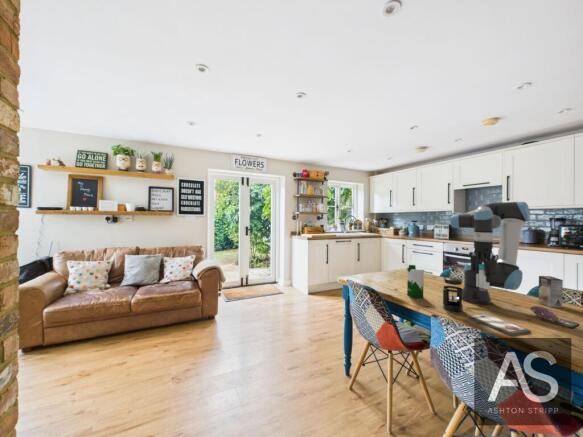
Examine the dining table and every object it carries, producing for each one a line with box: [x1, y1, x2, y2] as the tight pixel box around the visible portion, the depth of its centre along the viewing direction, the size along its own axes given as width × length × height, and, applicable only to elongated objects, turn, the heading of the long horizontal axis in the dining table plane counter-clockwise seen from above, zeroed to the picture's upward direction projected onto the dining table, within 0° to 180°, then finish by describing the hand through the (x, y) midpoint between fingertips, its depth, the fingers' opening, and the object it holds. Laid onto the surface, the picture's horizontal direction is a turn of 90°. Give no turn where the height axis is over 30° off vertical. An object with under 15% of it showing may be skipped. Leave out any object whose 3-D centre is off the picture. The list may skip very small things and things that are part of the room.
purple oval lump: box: [530, 305, 560, 322], centre depth 127 cm, size 10×5×7 cm, turn 6°
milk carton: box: [406, 264, 425, 299], centre depth 162 cm, size 9×9×20 cm
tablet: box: [466, 313, 532, 336], centre depth 119 cm, size 20×12×1 cm, turn 13°
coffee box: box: [538, 275, 564, 308], centre depth 148 cm, size 9×6×16 cm
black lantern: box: [442, 267, 464, 314], centre depth 139 cm, size 12×9×23 cm
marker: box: [479, 264, 486, 291], centre depth 126 cm, size 3×3×13 cm
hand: (482, 287), depth 126 cm, fingers closed on marker, 3 cm apart
